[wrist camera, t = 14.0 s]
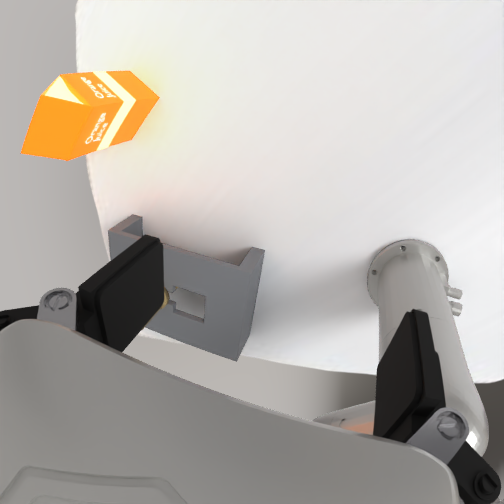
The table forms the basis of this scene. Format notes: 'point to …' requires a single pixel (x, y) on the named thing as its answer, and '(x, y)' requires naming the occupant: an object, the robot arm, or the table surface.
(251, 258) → the keyhole board
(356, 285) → the table surface
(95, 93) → the orange juice
